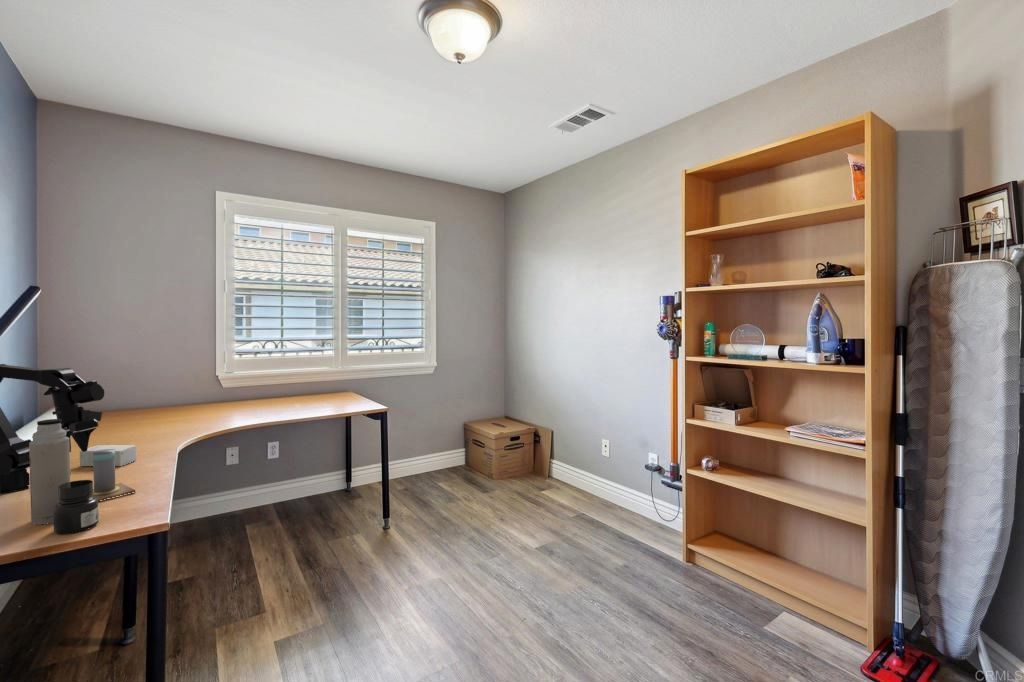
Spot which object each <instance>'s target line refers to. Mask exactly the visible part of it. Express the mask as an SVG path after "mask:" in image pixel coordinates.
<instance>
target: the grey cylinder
mask: <svg viewBox="0 0 1024 682" xmlns="http://www.w3.org/2000/svg"><path fill="white" fill-rule="evenodd" d="M92 471H93V472H92V473H93V489H94V492H95V493H103V492H108V491H112V490H114V489H115V484H116V467H115V450H114V449H105V450H98V451H95V452H93V470H92Z"/></svg>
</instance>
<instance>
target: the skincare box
mask: <svg viewBox="0 0 1024 682" xmlns="http://www.w3.org/2000/svg"><path fill="white" fill-rule="evenodd" d="M105 449H114V450H115V466H121V467H123V465H124V466H127V465H128V463H129V464H132V463H134V462H137V461H136V460H137V457H138V456H137V455H138V454H137V445H136V444H135V445H132V444H131V445H127V444H126V445H125V444H123V445H122V444H121V445H119V444H117V445H110V444H108V445H106V444H103V445H102V444H100V445H99V444H97V445H94V446H91V447H88V448H87V451H85V452H82V450H81V449H80V451H79V467H81V466H93V452H95V451H98V450H105ZM133 461H134V462H133ZM131 462H132V463H131ZM126 464H127V465H126Z"/></svg>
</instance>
